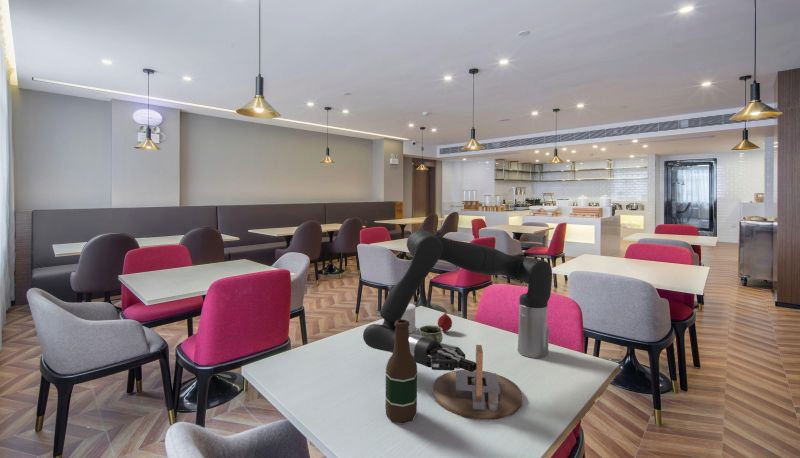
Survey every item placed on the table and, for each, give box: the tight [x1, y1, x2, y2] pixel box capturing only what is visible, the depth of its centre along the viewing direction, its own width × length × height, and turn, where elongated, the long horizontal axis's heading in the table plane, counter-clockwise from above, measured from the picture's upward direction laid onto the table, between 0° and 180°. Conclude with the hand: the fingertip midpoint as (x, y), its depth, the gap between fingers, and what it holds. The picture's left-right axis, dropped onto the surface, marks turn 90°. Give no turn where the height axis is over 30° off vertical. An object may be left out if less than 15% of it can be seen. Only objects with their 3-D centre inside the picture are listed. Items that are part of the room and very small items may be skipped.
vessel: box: [418, 324, 444, 346], centre depth 140 cm, size 12×9×6 cm
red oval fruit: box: [437, 312, 453, 333], centre depth 153 cm, size 6×6×8 cm
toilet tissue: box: [401, 303, 416, 334], centre depth 156 cm, size 11×12×10 cm
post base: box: [432, 369, 523, 421], centre depth 105 cm, size 24×24×6 cm
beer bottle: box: [385, 319, 418, 425], centre depth 94 cm, size 8×8×24 cm
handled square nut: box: [455, 344, 501, 411], centre depth 102 cm, size 17×11×14 cm
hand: (474, 367), depth 98 cm, fingers closed
